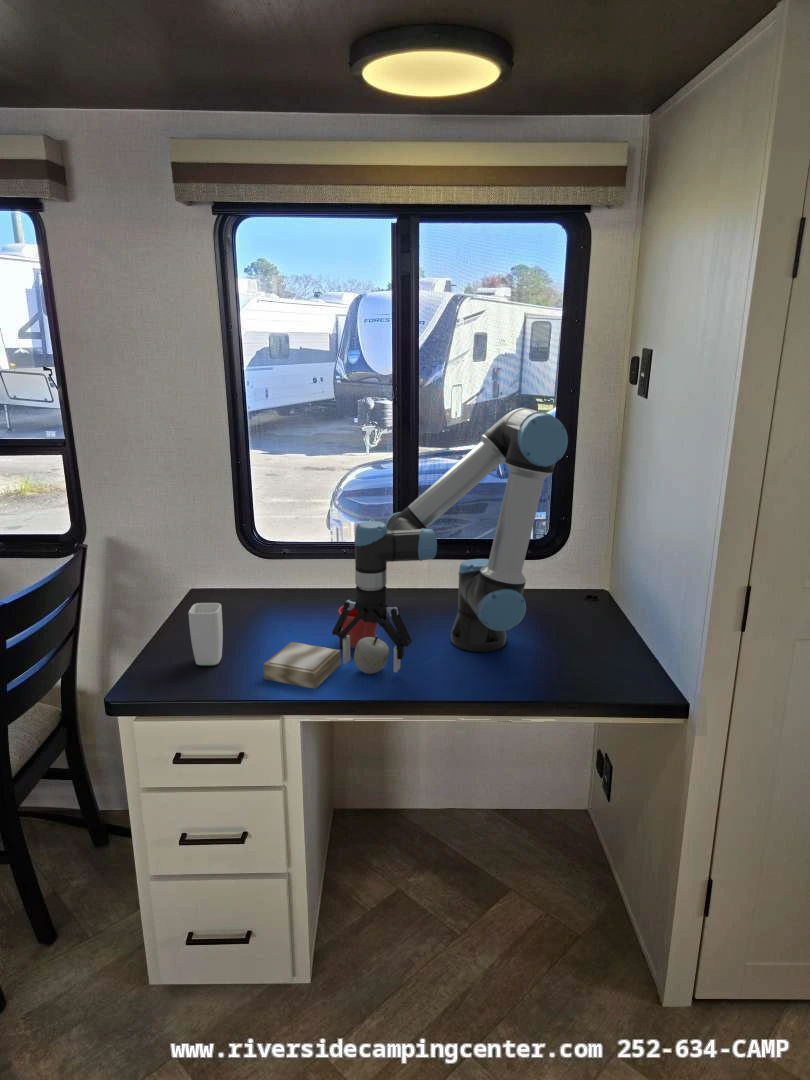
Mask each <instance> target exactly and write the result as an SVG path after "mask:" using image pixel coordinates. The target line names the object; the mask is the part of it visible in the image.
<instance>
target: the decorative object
mask: <svg viewBox="0 0 810 1080" xmlns="http://www.w3.org/2000/svg"><path fill="white" fill-rule="evenodd" d="M389 655H390V647H389V645H387V643H386V642H385V641H383V640H382V639H380V638H379V635H377V634H375V637H365V638H362V639H360V640H359V641H358V643H357V645H356V648H354V653H353V660H354V664H355V665H356V666H355V667H356V668H357V669H358V670H359V671H360V672H362V673H364V674H368V675H372V674H373V675H374V674H376V673H378V672H380V671H381V670H382V669H384V667H385V666H386V665H387V661H388V659H389Z"/></svg>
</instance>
